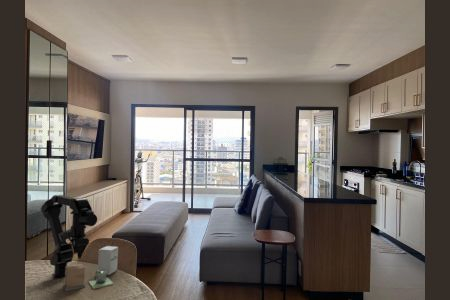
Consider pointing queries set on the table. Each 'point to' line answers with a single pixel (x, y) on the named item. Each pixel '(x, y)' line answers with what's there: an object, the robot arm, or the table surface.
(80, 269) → the tan box
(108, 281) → the sage mat
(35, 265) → the table surface
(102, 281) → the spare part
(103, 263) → the supplement box
